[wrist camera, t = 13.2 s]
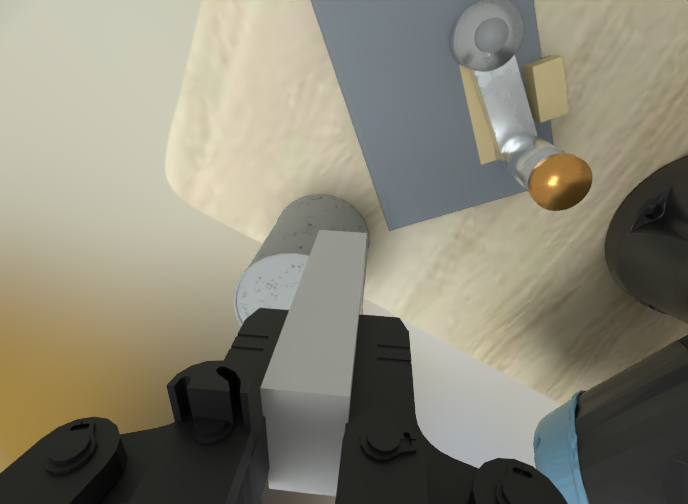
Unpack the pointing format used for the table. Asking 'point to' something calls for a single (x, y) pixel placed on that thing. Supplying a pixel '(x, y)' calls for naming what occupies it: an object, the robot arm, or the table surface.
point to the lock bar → (516, 111)
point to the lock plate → (430, 101)
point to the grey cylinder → (291, 252)
